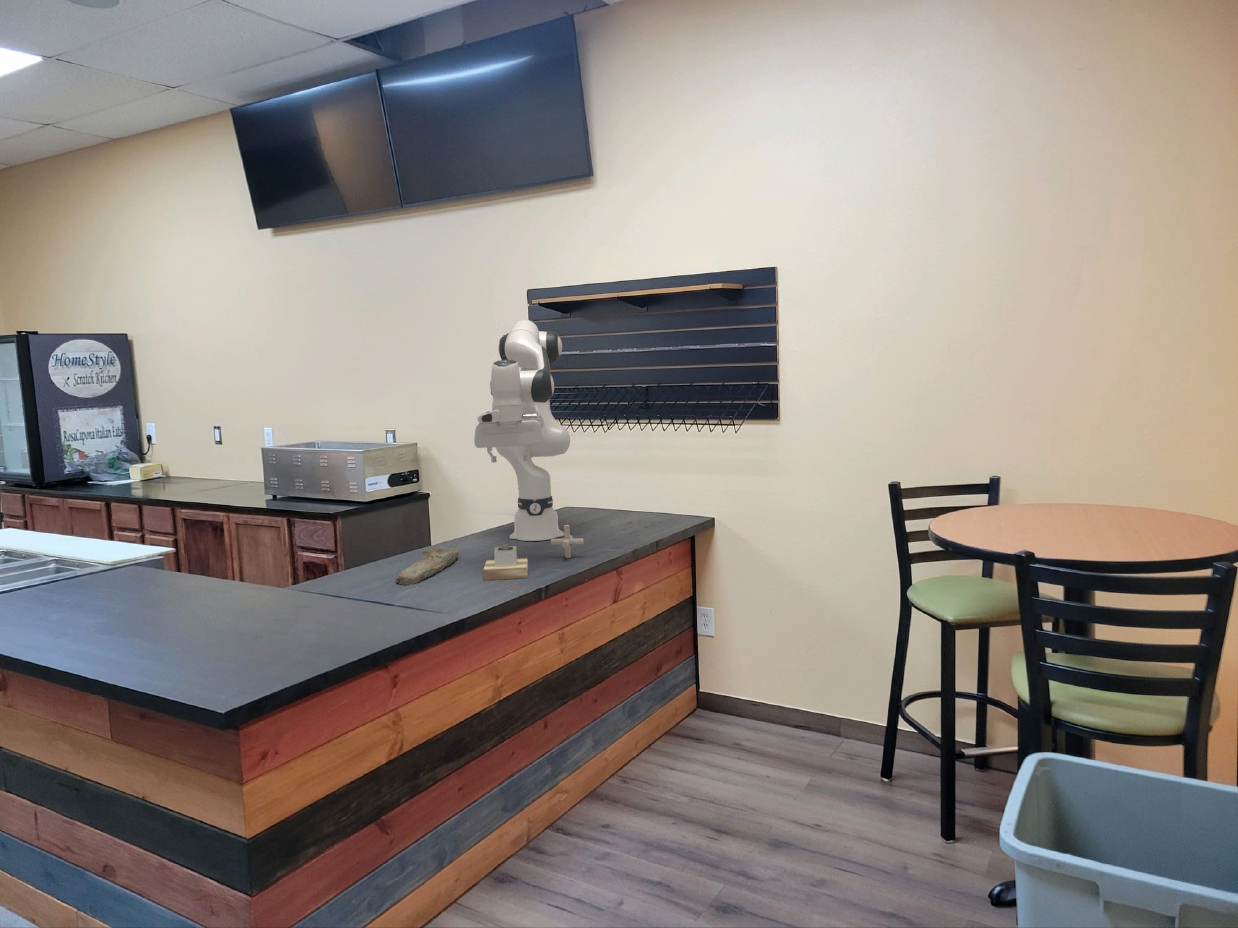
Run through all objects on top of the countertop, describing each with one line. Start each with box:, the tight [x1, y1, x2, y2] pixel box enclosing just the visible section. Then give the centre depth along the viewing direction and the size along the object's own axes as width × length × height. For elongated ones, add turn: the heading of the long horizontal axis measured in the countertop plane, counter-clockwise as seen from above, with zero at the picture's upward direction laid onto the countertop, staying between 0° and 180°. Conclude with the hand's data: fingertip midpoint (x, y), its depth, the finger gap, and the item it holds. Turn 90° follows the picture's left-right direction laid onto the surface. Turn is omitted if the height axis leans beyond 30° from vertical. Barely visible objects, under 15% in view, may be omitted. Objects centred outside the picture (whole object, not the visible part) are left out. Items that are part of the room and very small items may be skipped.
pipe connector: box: [550, 524, 585, 559], centre depth 263 cm, size 10×10×10 cm
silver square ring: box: [493, 545, 518, 567], centre depth 245 cm, size 6×6×4 cm
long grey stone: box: [395, 546, 460, 586], centre depth 254 cm, size 35×5×10 cm
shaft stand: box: [483, 543, 529, 581], centre depth 245 cm, size 12×12×8 cm
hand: (510, 461), depth 254 cm, fingers open, 8 cm apart
